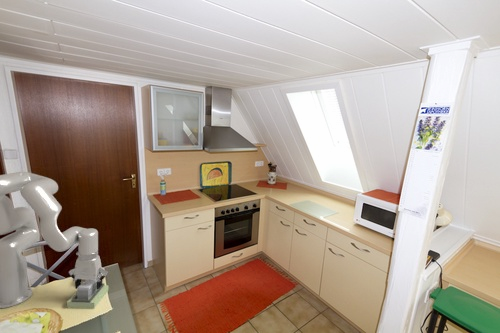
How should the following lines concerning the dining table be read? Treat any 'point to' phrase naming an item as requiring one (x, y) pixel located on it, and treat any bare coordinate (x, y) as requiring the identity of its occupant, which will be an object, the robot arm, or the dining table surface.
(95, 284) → the grey small block
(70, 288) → the dining table surface
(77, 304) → the shallow green tray
